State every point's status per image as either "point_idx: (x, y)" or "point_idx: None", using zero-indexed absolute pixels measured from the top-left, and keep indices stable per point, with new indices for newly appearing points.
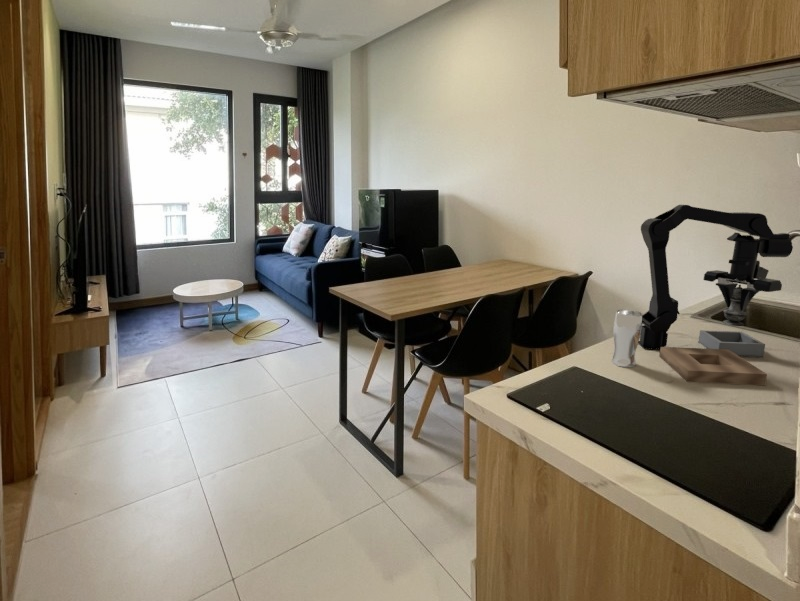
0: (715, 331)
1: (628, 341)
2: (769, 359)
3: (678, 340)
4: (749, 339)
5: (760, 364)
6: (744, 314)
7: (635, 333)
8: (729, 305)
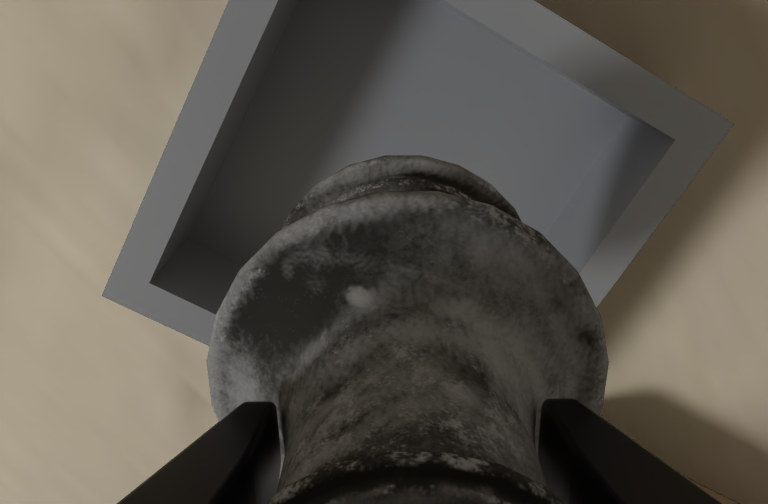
0: (185, 182)
1: None
2: (725, 96)
3: (65, 351)
4: (507, 39)
5: (738, 287)
6: (599, 402)
7: None
8: (274, 487)
